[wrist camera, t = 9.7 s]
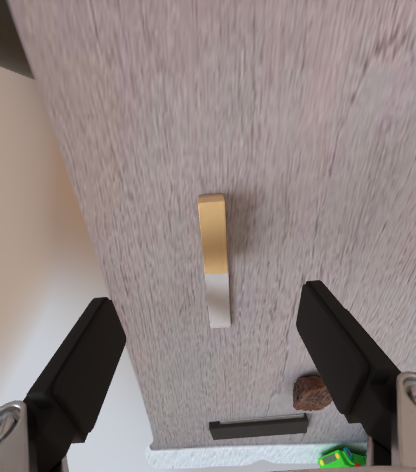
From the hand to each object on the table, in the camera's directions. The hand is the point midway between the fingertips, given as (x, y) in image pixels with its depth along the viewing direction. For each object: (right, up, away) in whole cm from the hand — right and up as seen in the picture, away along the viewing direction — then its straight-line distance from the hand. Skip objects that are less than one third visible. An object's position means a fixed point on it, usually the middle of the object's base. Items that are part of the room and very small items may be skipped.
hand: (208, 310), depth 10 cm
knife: (+1, 0, +12) cm, 12 cm away
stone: (+16, -19, +21) cm, 33 cm away
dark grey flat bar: (+9, -29, +25) cm, 39 cm away
